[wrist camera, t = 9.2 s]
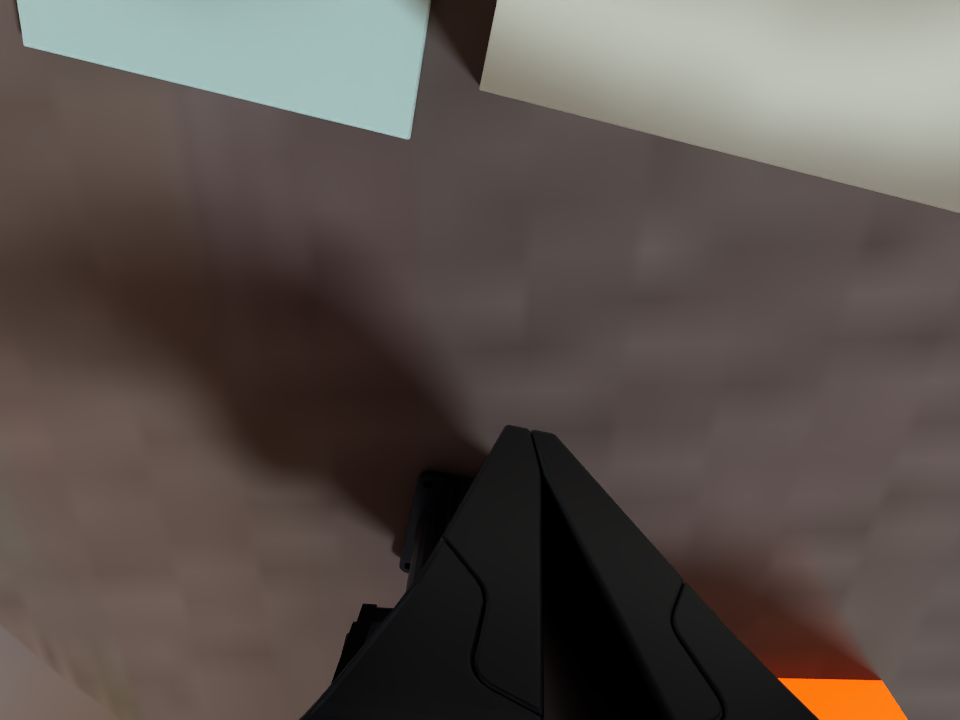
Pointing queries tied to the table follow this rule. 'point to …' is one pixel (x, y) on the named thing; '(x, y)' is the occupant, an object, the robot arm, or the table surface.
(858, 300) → the table surface
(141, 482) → the table surface
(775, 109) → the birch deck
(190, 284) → the table surface
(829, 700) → the orange juice
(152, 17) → the sage mat
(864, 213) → the table surface
